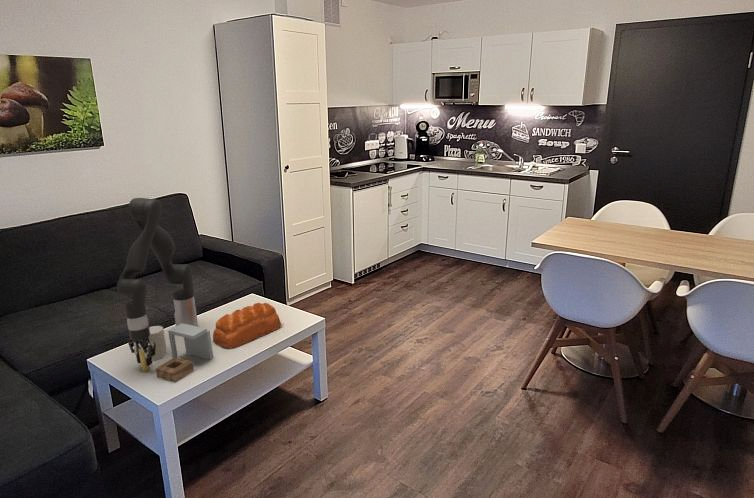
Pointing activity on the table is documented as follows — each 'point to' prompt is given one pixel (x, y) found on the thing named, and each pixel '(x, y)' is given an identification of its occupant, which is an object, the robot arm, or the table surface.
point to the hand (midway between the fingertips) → (145, 363)
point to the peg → (143, 361)
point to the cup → (158, 341)
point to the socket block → (174, 369)
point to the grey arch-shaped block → (192, 340)
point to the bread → (245, 325)
